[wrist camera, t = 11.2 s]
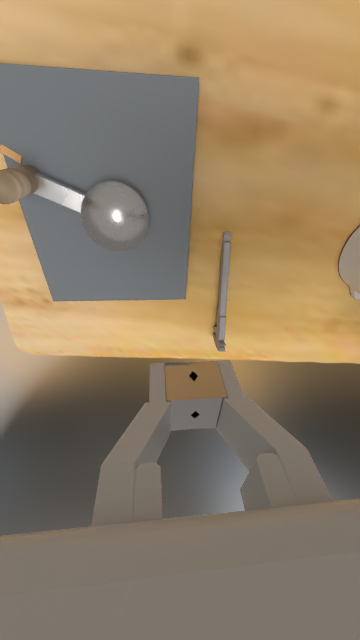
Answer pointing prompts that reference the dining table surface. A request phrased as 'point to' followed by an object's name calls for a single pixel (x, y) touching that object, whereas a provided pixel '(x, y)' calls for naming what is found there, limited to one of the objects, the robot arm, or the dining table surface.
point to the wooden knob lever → (86, 205)
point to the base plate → (104, 172)
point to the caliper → (222, 293)
